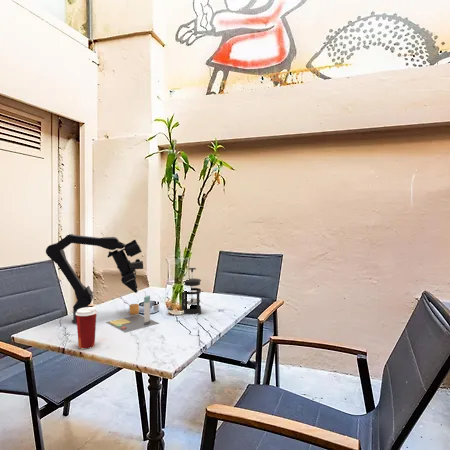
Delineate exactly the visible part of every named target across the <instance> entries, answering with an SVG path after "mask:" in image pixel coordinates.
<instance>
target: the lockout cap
mask: <svg viewBox="0 0 450 450" xmlns="http://www.w3.org/2000/svg"><path fill="white" fill-rule="evenodd" d="M129 315H132V316H135V315H140V304H139V303H131V304H129Z"/></svg>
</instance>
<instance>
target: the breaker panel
mask: <svg viewBox="0 0 450 450" xmlns="http://www.w3.org/2000/svg"><path fill="white" fill-rule="evenodd" d="M105 323H106V324H108V325H110V326H111V327H113V328H116V329H117V330H119V331H121V332H123V333H129V332H133V331H136V330H140V329H144V328H148V327H152V326H154V325H155V326H156V325H159V324H160V322H157V321H156V320H152V319H151V318H150V320H149V321H148V322H144V316H143V315H141V314H136V315H132V316H127V317H123V318H118V319H115V320H111V321H105Z"/></svg>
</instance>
